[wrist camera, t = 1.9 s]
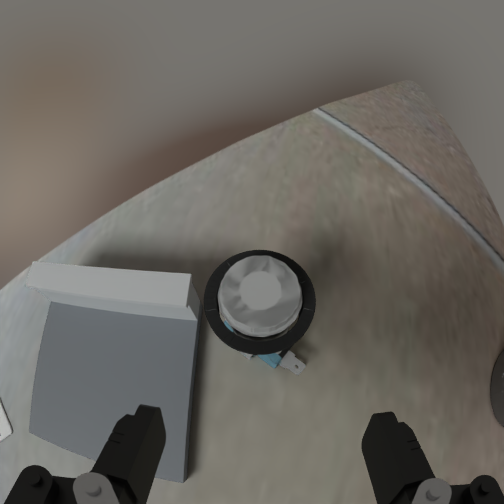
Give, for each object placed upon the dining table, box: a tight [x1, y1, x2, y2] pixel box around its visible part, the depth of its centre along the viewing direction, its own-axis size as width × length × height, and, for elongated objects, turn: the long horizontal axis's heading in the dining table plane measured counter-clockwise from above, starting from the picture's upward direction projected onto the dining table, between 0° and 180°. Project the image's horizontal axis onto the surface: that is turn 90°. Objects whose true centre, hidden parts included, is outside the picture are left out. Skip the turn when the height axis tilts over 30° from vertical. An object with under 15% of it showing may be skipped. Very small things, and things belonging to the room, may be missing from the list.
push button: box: [204, 250, 316, 375], centre depth 17 cm, size 7×5×10 cm
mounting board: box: [25, 261, 203, 483], centre depth 18 cm, size 14×14×5 cm
